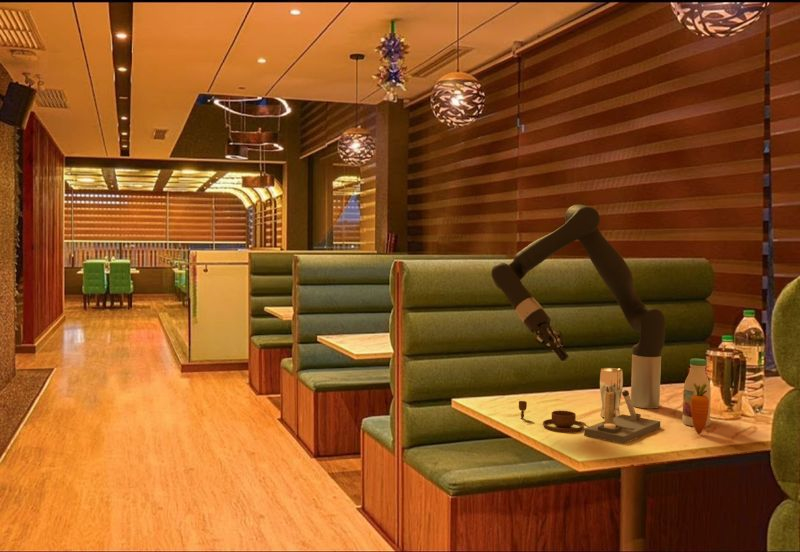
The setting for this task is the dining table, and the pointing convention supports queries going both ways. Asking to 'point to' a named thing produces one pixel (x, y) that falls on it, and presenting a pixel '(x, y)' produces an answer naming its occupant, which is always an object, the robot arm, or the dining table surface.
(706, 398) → the carrot
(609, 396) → the block
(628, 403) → the toggle lever
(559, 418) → the place setting
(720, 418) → the dining table surface
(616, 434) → the switch panel
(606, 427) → the push button
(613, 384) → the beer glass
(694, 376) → the milk bottle
